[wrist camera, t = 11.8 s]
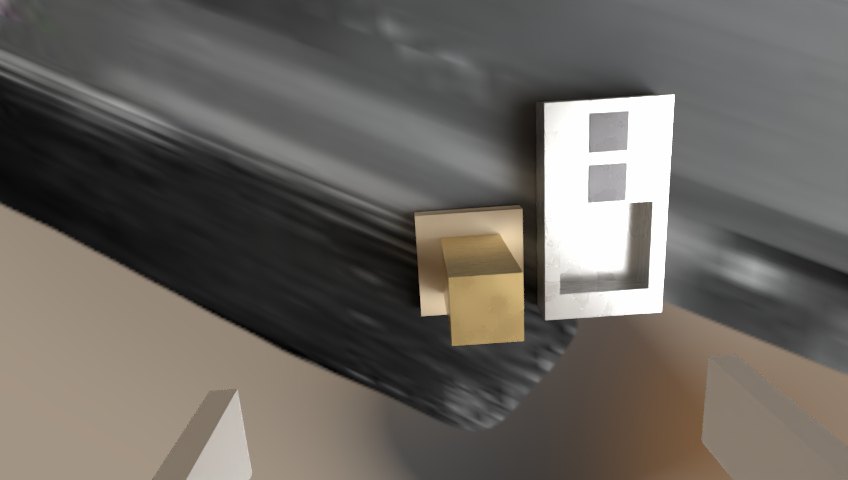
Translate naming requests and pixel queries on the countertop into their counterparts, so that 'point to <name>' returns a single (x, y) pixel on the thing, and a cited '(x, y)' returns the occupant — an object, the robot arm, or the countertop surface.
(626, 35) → the countertop surface
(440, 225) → the coaster
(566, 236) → the white recessed slab
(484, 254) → the block
